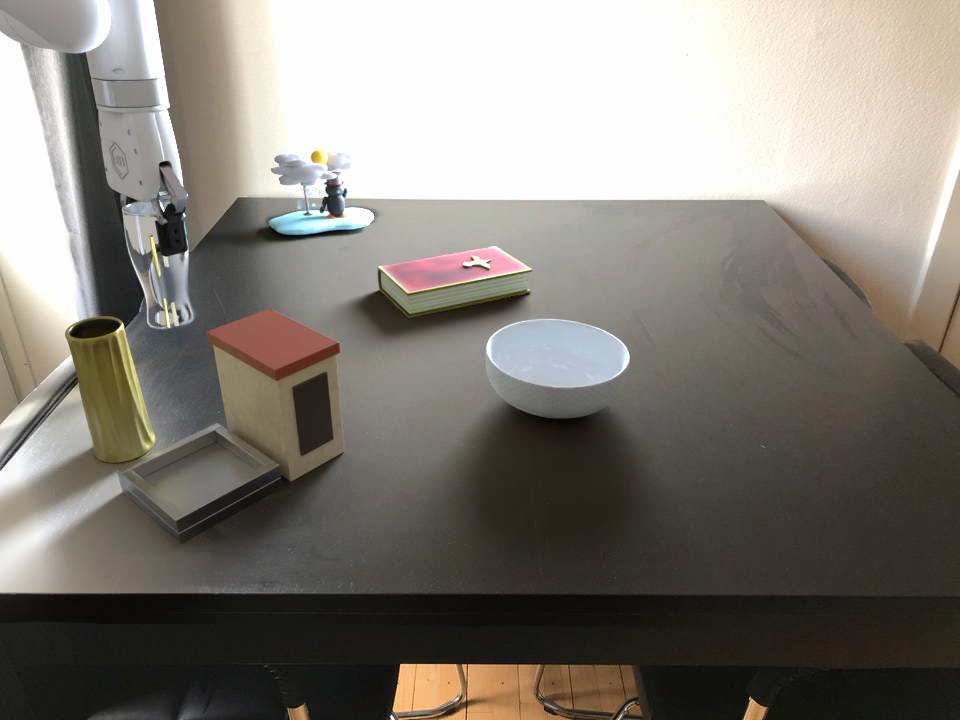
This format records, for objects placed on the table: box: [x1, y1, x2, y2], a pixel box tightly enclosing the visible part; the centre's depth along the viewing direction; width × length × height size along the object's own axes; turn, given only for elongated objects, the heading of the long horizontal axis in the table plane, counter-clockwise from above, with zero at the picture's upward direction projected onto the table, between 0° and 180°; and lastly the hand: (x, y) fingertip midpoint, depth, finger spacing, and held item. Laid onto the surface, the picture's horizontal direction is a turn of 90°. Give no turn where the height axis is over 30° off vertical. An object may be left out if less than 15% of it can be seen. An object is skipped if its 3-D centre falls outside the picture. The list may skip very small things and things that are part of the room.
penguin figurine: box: [268, 149, 375, 236], centre depth 139 cm, size 20×11×15 cm, turn 108°
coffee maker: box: [116, 308, 346, 544], centre depth 73 cm, size 19×12×13 cm, turn 139°
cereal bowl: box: [484, 318, 631, 420], centre depth 87 cm, size 17×17×7 cm
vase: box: [64, 315, 156, 464], centre depth 76 cm, size 6×6×14 cm
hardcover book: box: [377, 245, 533, 319], centre depth 116 cm, size 12×21×4 cm, turn 118°
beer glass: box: [121, 201, 197, 331], centre depth 92 cm, size 7×7×15 cm
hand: (158, 244), depth 91 cm, fingers closed on beer glass, 7 cm apart
